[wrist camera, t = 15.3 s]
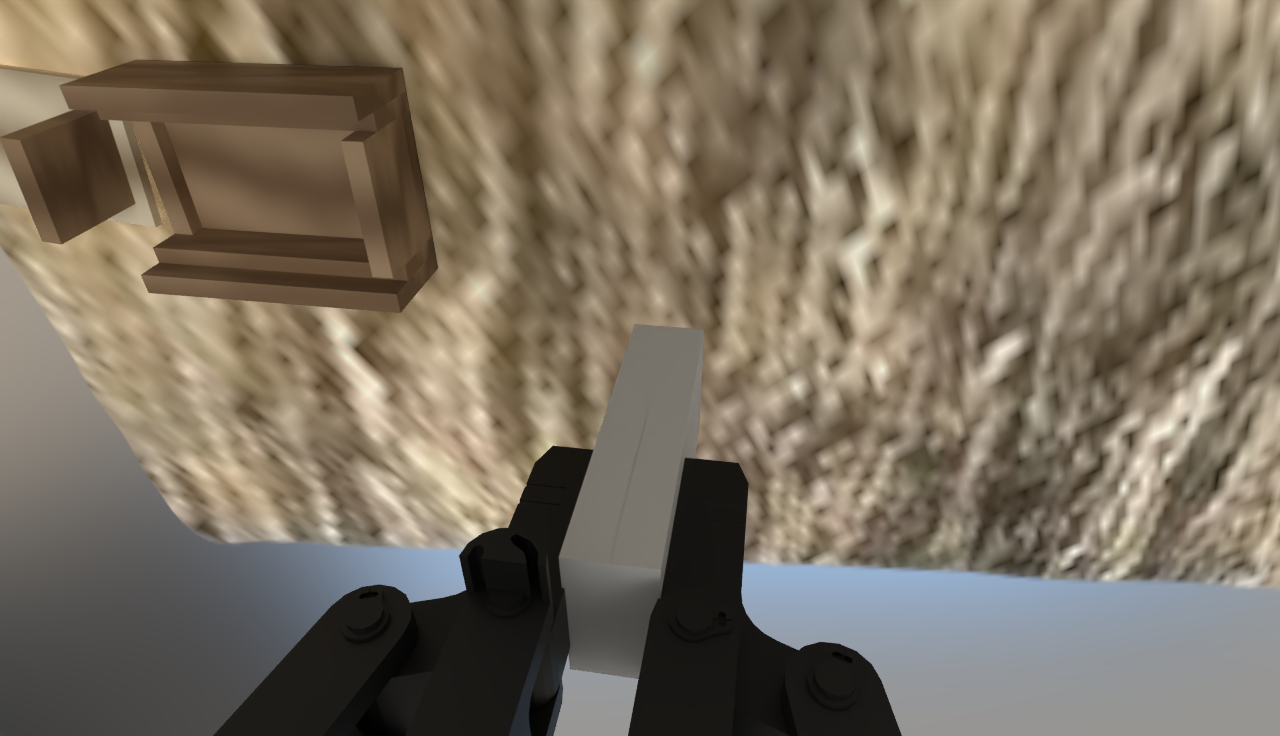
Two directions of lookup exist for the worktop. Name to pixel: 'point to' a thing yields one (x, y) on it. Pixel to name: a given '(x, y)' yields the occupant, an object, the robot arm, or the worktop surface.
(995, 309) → the worktop surface
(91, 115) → the cover plate
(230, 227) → the walnut box
